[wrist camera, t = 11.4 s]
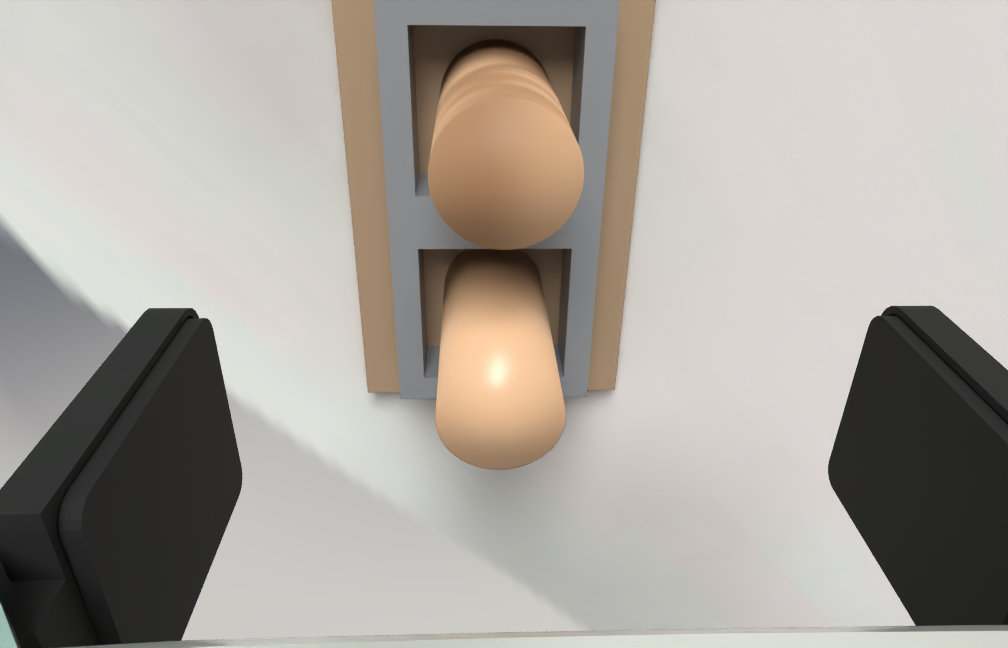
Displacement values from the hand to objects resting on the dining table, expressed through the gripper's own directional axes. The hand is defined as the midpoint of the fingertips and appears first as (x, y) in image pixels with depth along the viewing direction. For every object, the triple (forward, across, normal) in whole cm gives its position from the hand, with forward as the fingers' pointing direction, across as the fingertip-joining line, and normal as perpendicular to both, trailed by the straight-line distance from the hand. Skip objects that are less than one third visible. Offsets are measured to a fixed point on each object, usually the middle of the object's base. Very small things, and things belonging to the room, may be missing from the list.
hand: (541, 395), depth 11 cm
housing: (+20, 0, +4) cm, 20 cm away
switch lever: (+18, 0, 0) cm, 19 cm away
